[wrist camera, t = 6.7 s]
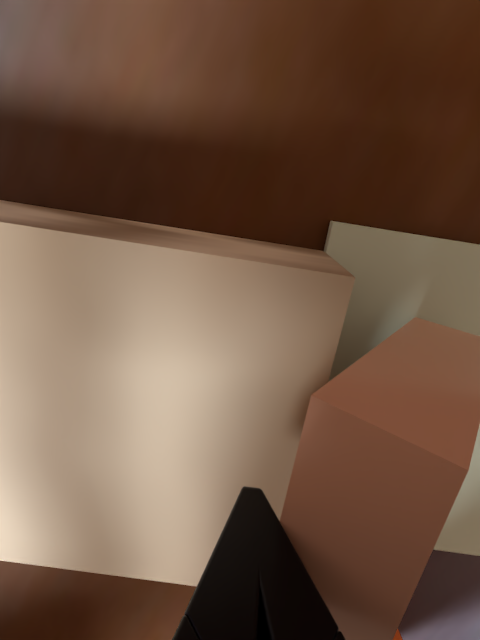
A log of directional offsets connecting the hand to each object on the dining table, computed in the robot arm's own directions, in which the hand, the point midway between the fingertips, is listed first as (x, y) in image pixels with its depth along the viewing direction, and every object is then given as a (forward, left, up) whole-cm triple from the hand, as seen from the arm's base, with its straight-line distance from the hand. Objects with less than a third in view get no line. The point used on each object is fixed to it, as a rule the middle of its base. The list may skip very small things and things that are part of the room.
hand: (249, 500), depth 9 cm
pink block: (+3, 0, -2) cm, 4 cm away
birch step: (-5, 0, -6) cm, 8 cm away
